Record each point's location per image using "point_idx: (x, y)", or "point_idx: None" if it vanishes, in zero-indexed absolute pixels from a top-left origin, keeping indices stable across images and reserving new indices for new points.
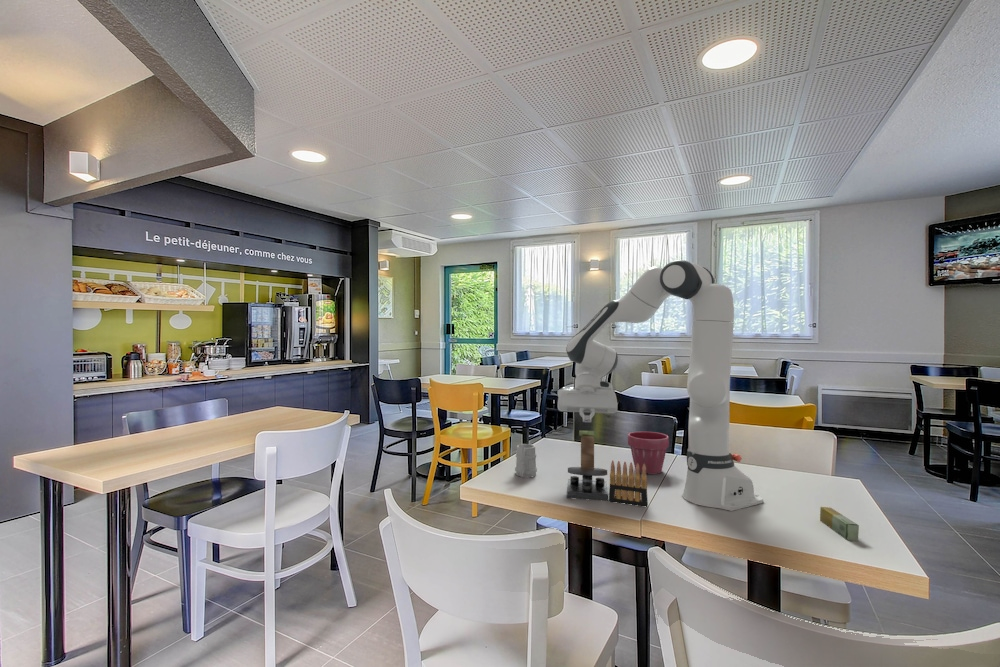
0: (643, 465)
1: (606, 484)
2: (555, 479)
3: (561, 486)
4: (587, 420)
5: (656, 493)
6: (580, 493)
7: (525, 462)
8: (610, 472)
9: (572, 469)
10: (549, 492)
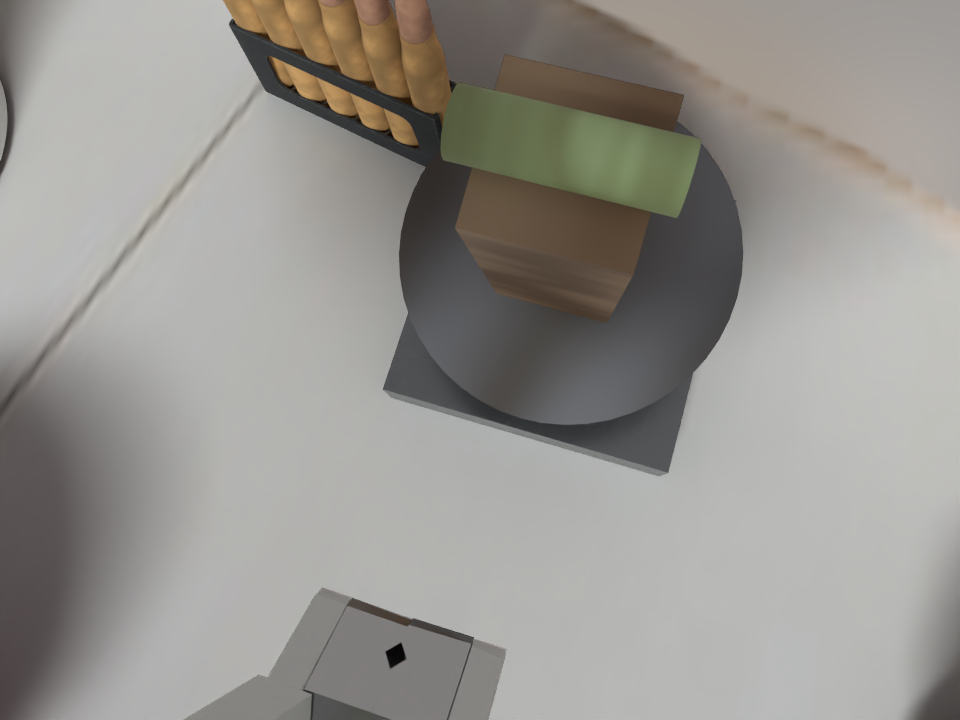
0: None
1: (408, 318)
2: (736, 632)
3: (717, 453)
4: (404, 623)
5: (111, 262)
6: None
7: None
8: (437, 41)
9: (717, 195)
10: (828, 334)
